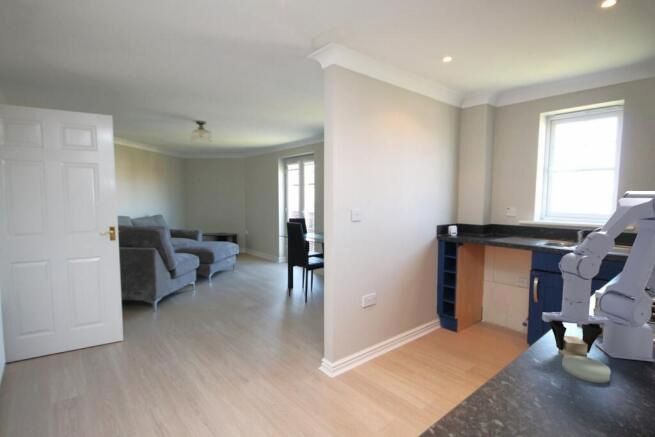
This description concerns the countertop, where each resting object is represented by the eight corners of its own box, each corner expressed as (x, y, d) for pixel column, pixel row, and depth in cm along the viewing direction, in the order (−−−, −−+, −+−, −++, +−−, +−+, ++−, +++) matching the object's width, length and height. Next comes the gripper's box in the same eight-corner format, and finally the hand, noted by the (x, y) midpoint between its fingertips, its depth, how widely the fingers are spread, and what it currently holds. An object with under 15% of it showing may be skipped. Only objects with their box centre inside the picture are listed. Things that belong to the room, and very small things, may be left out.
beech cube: (577, 353, 88) (578, 336, 88) (586, 361, 84) (587, 344, 84) (558, 351, 89) (559, 335, 89) (566, 359, 85) (567, 342, 85)
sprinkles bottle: (613, 335, 99) (617, 292, 98) (608, 339, 97) (612, 295, 96) (595, 330, 103) (598, 288, 102) (589, 333, 100) (592, 291, 99)
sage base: (596, 365, 82) (596, 357, 82) (619, 385, 73) (619, 376, 73) (555, 360, 84) (556, 353, 84) (573, 380, 75) (573, 371, 75)
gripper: (551, 302, 83) (548, 353, 84) (618, 307, 80) (614, 360, 81) (540, 294, 90) (537, 341, 91) (601, 298, 87) (597, 347, 88)
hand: (572, 349), depth 87 cm, fingers open, 5 cm apart
